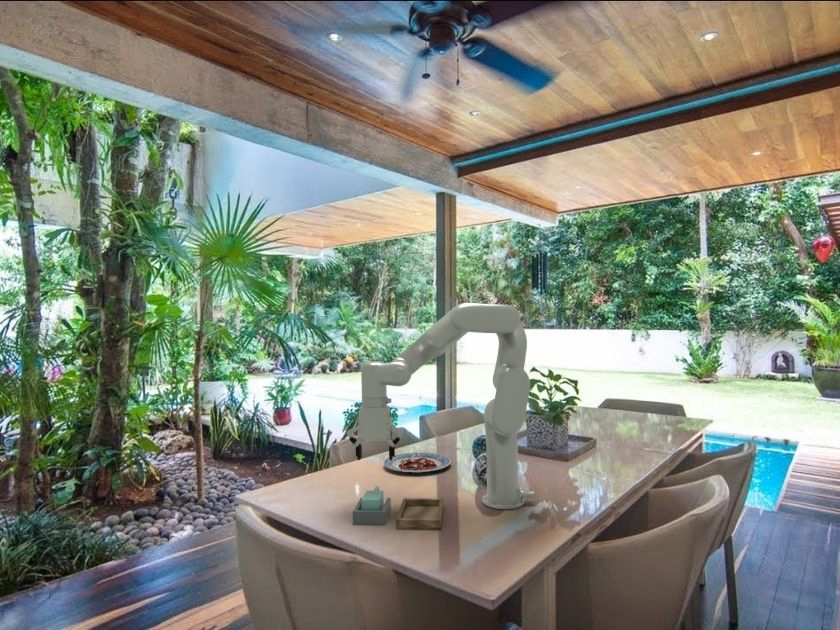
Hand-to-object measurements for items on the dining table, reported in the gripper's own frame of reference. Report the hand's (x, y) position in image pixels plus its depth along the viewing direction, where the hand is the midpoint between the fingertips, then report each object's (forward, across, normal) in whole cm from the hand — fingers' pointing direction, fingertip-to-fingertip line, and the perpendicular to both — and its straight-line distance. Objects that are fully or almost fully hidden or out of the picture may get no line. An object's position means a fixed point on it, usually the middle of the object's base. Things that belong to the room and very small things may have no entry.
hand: (375, 459), depth 155 cm
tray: (+14, -14, +8) cm, 22 cm away
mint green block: (+15, 0, +5) cm, 15 cm away
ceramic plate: (+15, -8, -43) cm, 46 cm away
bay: (+14, 0, +7) cm, 16 cm away
